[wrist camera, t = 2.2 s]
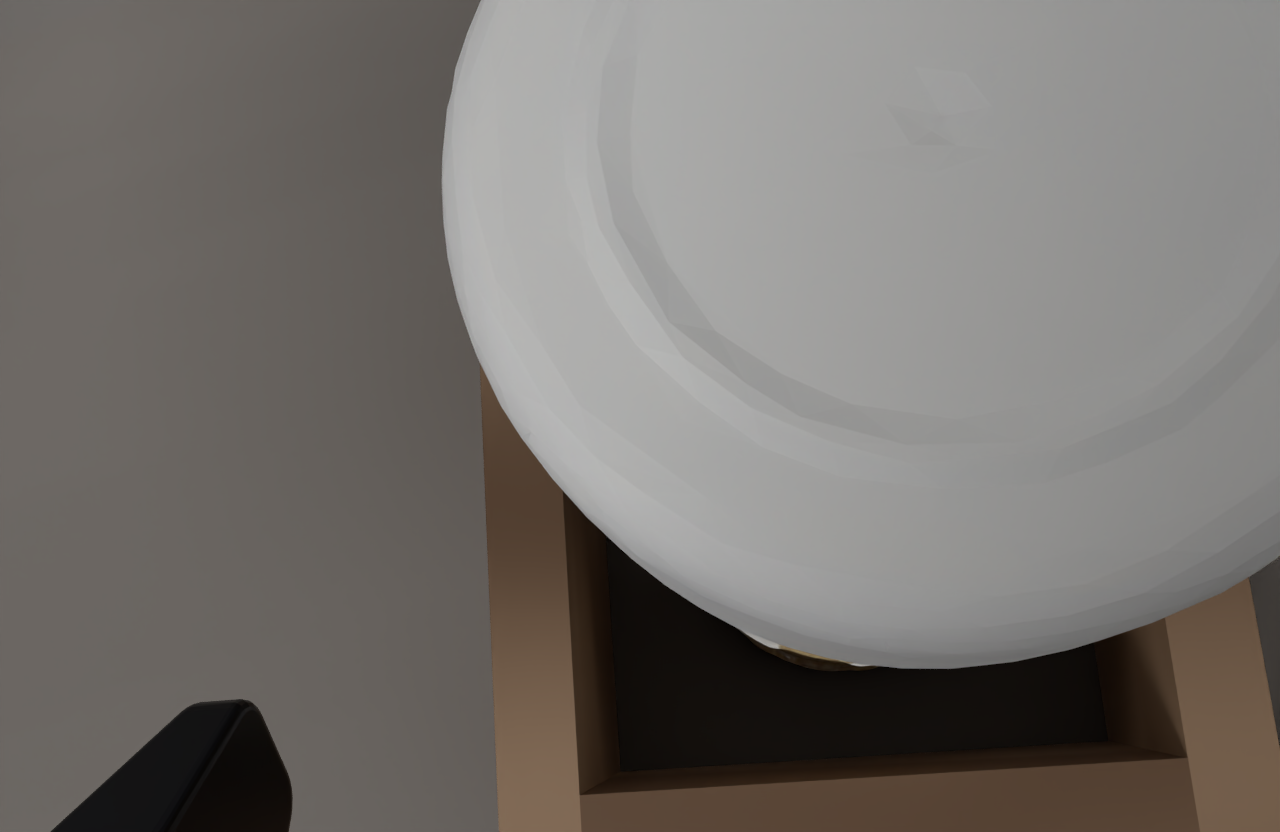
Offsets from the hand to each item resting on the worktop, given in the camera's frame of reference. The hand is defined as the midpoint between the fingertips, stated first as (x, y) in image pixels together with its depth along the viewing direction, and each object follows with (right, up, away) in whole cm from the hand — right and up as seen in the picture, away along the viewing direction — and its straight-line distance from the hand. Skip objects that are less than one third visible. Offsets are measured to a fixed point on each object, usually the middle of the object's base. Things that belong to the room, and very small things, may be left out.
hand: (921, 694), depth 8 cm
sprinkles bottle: (+1, 0, +10) cm, 11 cm away
